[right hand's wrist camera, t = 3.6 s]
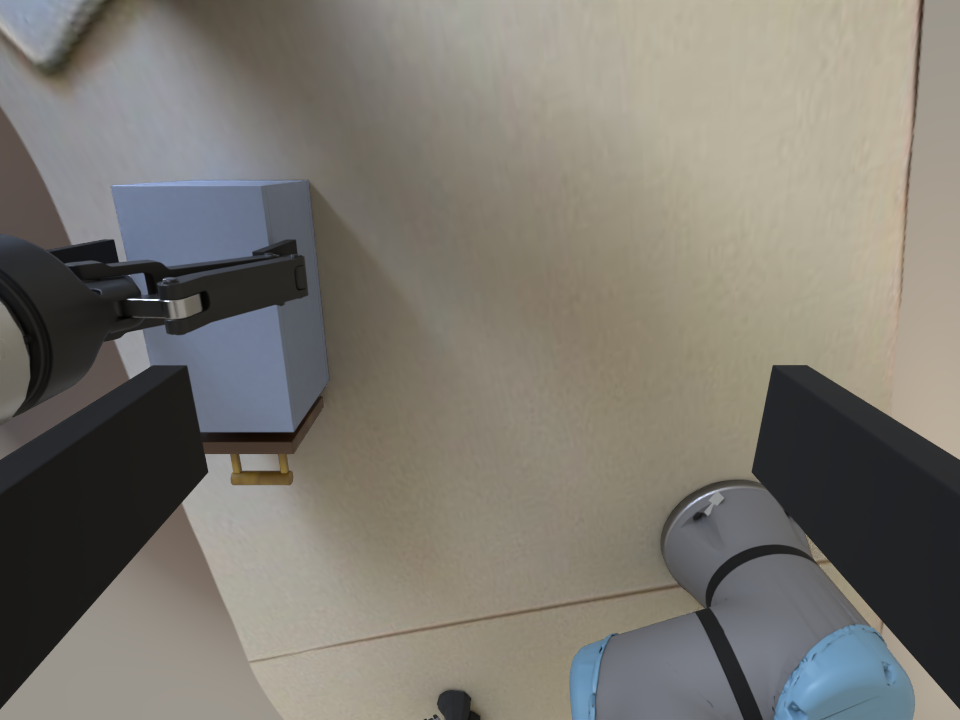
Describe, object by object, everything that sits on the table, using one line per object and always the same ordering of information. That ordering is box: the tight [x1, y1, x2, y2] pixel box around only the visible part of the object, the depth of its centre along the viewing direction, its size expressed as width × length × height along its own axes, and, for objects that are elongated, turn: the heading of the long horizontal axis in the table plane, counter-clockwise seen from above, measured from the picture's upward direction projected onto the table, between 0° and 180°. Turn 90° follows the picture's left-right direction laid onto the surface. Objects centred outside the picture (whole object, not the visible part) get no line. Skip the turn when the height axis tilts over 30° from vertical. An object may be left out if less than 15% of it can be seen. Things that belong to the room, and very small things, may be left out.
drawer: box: [200, 397, 324, 485], centre depth 49 cm, size 24×10×10 cm, turn 0°
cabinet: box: [111, 180, 329, 432], centre depth 47 cm, size 20×11×11 cm, turn 0°
